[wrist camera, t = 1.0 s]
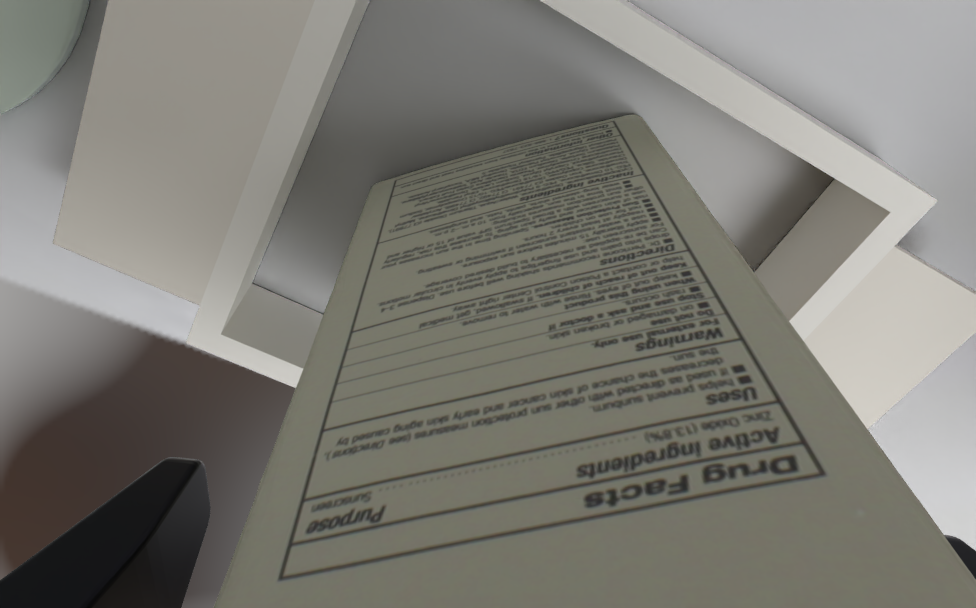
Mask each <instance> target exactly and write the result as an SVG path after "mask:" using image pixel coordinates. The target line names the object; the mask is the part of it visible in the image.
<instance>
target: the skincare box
mask: <svg viewBox="0 0 976 608" xmlns="http://www.w3.org/2000/svg"><path fill="white" fill-rule="evenodd" d="M214 608H976V579H975V578H974V576H973V575H972V574H971V572H970V571H969V570H968V568H967V567H966V565H965V564H964V563H963V561H962V560H961V558H960V557H959V556H958V554H957V553H956V552H955V550H954V549H953V547H952V546H951V545H950V543H949V542H948V540H947V539H946V538H945V536H944V535H943V533H942V532H941V531H940V529H939V528H938V526H937V525H936V524H935V522H934V521H933V520H932V518H931V517H930V515H929V514H928V513H927V511H926V510H925V508H924V507H923V506H922V504H921V503H920V501H919V500H918V499H917V497H916V496H915V495H914V493H913V492H912V490H911V489H910V488H909V486H908V485H907V484H906V482H905V481H904V480H903V478H902V477H901V476H900V474H899V473H898V471H897V470H896V469H895V467H894V466H893V465H892V463H891V462H890V460H889V459H888V458H887V456H886V455H885V453H884V452H883V451H882V449H881V448H880V446H879V445H878V444H877V442H876V441H875V439H874V438H873V437H872V435H871V434H870V432H869V431H868V430H867V428H866V427H865V425H864V424H863V423H862V421H861V420H860V418H859V417H858V416H857V414H856V413H855V412H854V410H853V409H852V407H851V406H850V405H849V403H848V402H847V400H846V399H845V398H844V396H843V395H842V394H841V392H840V391H839V389H838V388H837V387H836V385H835V384H834V383H833V381H832V380H831V378H830V377H829V376H828V374H827V373H826V371H825V370H824V369H823V367H822V366H821V365H820V363H819V362H818V360H817V359H816V358H815V356H814V355H813V353H812V352H811V351H810V349H809V348H808V347H807V345H806V344H805V342H804V341H803V340H802V338H801V337H800V336H799V334H798V333H797V332H796V330H795V329H794V327H793V326H792V325H791V323H790V322H789V321H788V319H787V318H786V317H785V315H784V314H783V312H782V311H781V310H780V308H779V307H778V306H777V304H776V303H775V302H774V300H773V299H772V298H771V296H770V295H769V293H768V292H767V290H766V289H765V287H764V286H763V284H762V283H761V282H760V280H759V279H758V277H757V276H756V275H755V273H754V272H753V270H752V269H751V268H750V266H749V265H748V263H747V262H746V261H745V259H744V258H743V256H742V255H741V254H740V252H739V251H738V249H737V248H736V246H735V245H734V244H733V242H732V241H731V240H730V238H729V237H728V236H727V234H726V233H725V231H724V230H723V229H722V227H721V226H720V225H719V223H718V222H717V221H716V219H715V218H714V217H713V215H712V214H711V213H710V211H709V210H708V208H707V207H706V206H705V204H704V203H703V201H702V200H701V199H700V197H699V196H698V194H697V193H696V192H695V190H694V189H693V187H692V186H691V185H690V183H689V182H688V181H687V179H686V178H685V176H684V175H683V174H682V172H681V171H680V169H679V168H678V167H677V165H676V164H675V162H674V161H673V160H672V158H671V157H670V156H669V154H668V153H667V151H666V150H665V149H664V147H663V146H662V145H661V143H660V142H659V140H658V139H657V137H656V136H655V135H654V133H653V132H652V131H651V129H650V128H649V126H648V125H647V124H646V122H645V121H644V120H643V118H642V117H640V116H638V115H634V114H633V115H625V116H621V117H617V118H613V119H609V120H604V121H600V122H595V123H591V124H587V125H583V126H579V127H575V128H570V129H566V130H562V131H559V132H554V133H550V134H546V135H543V136H539V137H535V138H531V139H527V140H523V141H519V142H516V143H512V144H509V145H505V146H501V147H498V148H494V149H490V150H487V151H483V152H479V153H476V154H472V155H468V156H465V157H461V158H458V159H455V160H451V161H448V162H444V163H441V164H437V165H434V166H430V167H427V168H424V169H420V170H417V171H414V172H411V173H407V174H404V175H401V176H398V177H395V178H391V179H388V180H384V181H381V182H378V183H376V184H374V185H373V186H372V187H371V189H370V191H369V194H368V197H367V200H366V202H365V205H364V207H363V210H362V213H361V216H360V218H359V220H358V223H357V226H356V229H355V232H354V234H353V237H352V240H351V242H350V245H349V248H348V250H347V253H346V256H345V259H344V261H343V264H342V267H341V269H340V272H339V274H338V277H337V280H336V283H335V286H334V289H333V291H332V294H331V296H330V299H329V301H328V304H327V306H326V309H325V312H324V314H323V317H322V320H321V323H320V325H319V328H318V331H317V334H316V336H315V339H314V342H313V345H312V347H311V350H310V353H309V355H308V358H307V361H306V364H305V366H304V369H303V371H302V374H301V376H300V379H299V381H298V384H297V387H296V389H295V392H294V395H293V397H292V400H291V403H290V406H289V408H288V410H287V413H286V416H285V419H284V421H283V424H282V427H281V430H280V432H279V436H278V438H277V440H276V443H275V446H274V449H273V451H272V454H271V456H270V459H269V461H268V464H267V467H266V469H265V472H264V474H263V476H262V479H261V481H260V484H259V488H258V491H257V494H256V497H255V500H254V503H253V505H252V508H251V511H250V513H249V516H248V519H247V521H246V524H245V526H244V529H243V532H242V534H241V537H240V539H239V542H238V544H237V547H236V550H235V552H234V555H233V558H232V561H231V563H230V566H229V570H228V572H227V574H226V577H225V580H224V582H223V585H222V587H221V590H220V593H219V595H218V598H217V600H216V603H215V606H214Z"/></svg>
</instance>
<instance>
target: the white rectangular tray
mask: <svg viewBox="0 0 976 608" xmlns="http://www.w3.org/2000/svg"><path fill="white" fill-rule="evenodd" d="M540 1H541V2H543V3H545V4H546V5H548V6H550V7H551V8H553V9H555V10H556V11H558V12H560V13H561V14H563V15H565V16H566V17H568V18H570V19H571V20H573V21H575V22H576V23H578V24H579V25H581V26H583V27H584V28H586V29H588V30H589V31H591V32H593V33H594V34H596V35H598V36H599V37H601V38H603V39H604V40H606V41H608V42H609V43H611V44H613V45H614V46H616V47H618V48H619V49H621V50H623V51H624V52H626V53H628V54H629V55H631V56H633V57H634V58H636V59H638V60H639V61H641V62H642V63H644V64H646V65H647V66H649V67H651V68H652V69H654V70H656V71H657V72H659V73H661V74H662V75H664V76H666V77H667V78H669V79H671V80H672V81H674V82H676V83H677V84H679V85H681V86H682V87H684V88H686V89H687V90H689V91H691V92H692V93H694V94H696V95H697V96H699V97H700V98H702V99H704V100H705V101H707V102H709V103H710V104H712V105H714V106H715V107H717V108H719V109H720V110H722V111H724V112H725V113H727V114H729V115H730V116H732V117H734V118H735V119H737V120H739V121H740V122H742V123H744V124H745V125H747V126H749V127H750V128H752V129H754V130H755V131H757V132H758V133H760V134H762V135H763V136H765V137H767V138H768V139H770V140H772V141H773V142H775V143H777V144H778V145H780V146H782V147H783V148H785V149H787V150H788V151H790V152H792V153H793V154H795V155H797V156H798V157H800V158H802V159H803V160H805V161H807V162H808V163H810V164H812V165H813V166H815V167H816V168H818V169H820V170H821V171H823V172H825V173H826V174H828V175H830V176H831V177H833V178H835V179H834V180H833V182H832V183H831V184H830V185H829V186H828V187H827V188H826V190H825V191H824V192H823V193H822V194H821V195H820V197H819V198H818V199H817V200H816V201H815V202H814V204H813V205H812V206H811V207H810V208H809V209H808V211H807V212H806V213H805V214H804V215H803V216H802V218H801V219H800V220H799V221H798V222H797V223H796V225H795V226H794V227H793V228H792V229H791V230H790V232H789V233H788V234H787V235H786V236H785V237H784V238H783V240H782V241H781V242H780V243H779V244H778V245H777V247H776V248H775V249H774V250H773V251H772V252H771V254H770V255H769V256H768V257H767V258H766V259H765V261H764V262H763V263H762V264H761V265H760V266H759V268H758V269H757V270H756V271H755V272H754V273H755V275H756V276H757V277H758V279H759V280H760V282H761V283H762V284H763V286H764V287H765V289H766V290H767V292H768V293H769V295H770V296H771V298H772V299H773V300H774V302H775V303H776V304H777V306H778V307H779V308H780V310H781V311H782V312H783V314H784V315H785V317H786V318H787V319H788V321H789V322H790V323H791V325H792V326H793V327H794V329H795V330H796V332H797V333H798V334H799V336H800V337H801V338H802V340H803V341H804V342H805V344H806V345H807V347H808V348H809V349H810V351H811V352H812V353H813V355H814V356H815V358H816V359H817V360H818V362H819V363H820V365H821V366H822V367H823V369H824V370H825V371H826V373H827V374H828V376H829V377H830V378H831V380H832V381H833V383H834V384H835V385H836V387H837V388H838V389H839V391H840V392H841V394H842V395H843V396H844V398H845V399H846V400H847V402H848V403H849V405H850V406H851V407H852V409H853V410H854V412H855V413H856V414H857V416H858V417H859V418H860V420H861V421H862V423H863V424H864V425H865V427H866V428H867V429H869V428H870V427H871V426H872V425H873V424H874V423H875V422H876V421H877V420H879V419H880V418H881V417H882V416H883V415H884V414H885V413H886V412H888V411H889V410H890V409H891V408H892V407H893V406H894V405H895V404H896V403H898V402H899V401H900V400H901V399H902V398H903V397H904V396H905V395H907V394H908V393H909V392H910V391H911V390H912V389H913V388H914V387H915V386H917V385H918V384H919V383H920V382H921V381H922V380H923V379H924V378H926V377H927V376H928V375H929V374H930V373H931V372H932V371H933V370H934V369H936V368H937V367H938V366H939V365H940V364H941V363H942V362H943V361H945V360H946V359H947V358H948V357H949V356H950V355H951V354H952V353H953V352H955V351H956V350H957V349H958V348H959V347H960V346H961V345H962V344H964V343H965V342H966V341H967V340H968V339H969V338H970V337H971V336H972V335H974V334H975V333H976V291H974V290H972V289H971V288H969V287H967V286H966V285H964V284H962V283H961V282H959V281H957V280H956V279H954V278H952V277H950V276H949V275H947V274H945V273H944V272H942V271H940V270H939V269H937V268H935V267H933V266H932V265H930V264H928V263H927V262H925V261H923V260H922V259H920V258H918V257H917V256H915V255H913V254H911V253H910V252H908V251H906V250H905V249H903V248H901V247H900V246H898V245H896V244H897V243H898V242H899V241H900V240H901V239H902V238H903V237H904V236H905V235H906V234H907V233H908V232H909V231H910V230H911V229H912V228H913V226H914V225H915V224H916V223H917V222H918V221H919V220H920V219H921V218H922V217H923V216H924V215H925V214H926V213H927V212H928V211H929V210H930V209H931V208H932V207H933V206H934V205H935V204H936V203H937V202H938V200H936V199H935V198H934V197H932V196H931V195H930V194H928V193H927V192H925V191H924V190H923V189H921V188H920V187H919V186H917V185H916V184H914V183H913V182H912V181H910V180H909V179H907V178H906V177H905V176H903V175H902V174H901V173H899V172H898V171H896V170H895V169H894V168H892V167H891V166H890V165H888V164H887V163H885V162H884V161H883V160H881V159H879V158H878V157H876V156H875V155H873V154H871V153H870V152H868V151H867V150H865V149H863V148H862V147H860V146H859V145H857V144H855V143H854V142H852V141H851V140H849V139H848V138H846V137H844V136H843V135H841V134H840V133H838V132H836V131H835V130H833V129H832V128H830V127H828V126H827V125H825V124H824V123H822V122H820V121H819V120H817V119H816V118H814V117H812V116H811V115H809V114H808V113H806V112H804V111H803V110H801V109H800V108H798V107H796V106H795V105H793V104H792V103H790V102H788V101H787V100H785V99H784V98H782V97H780V96H779V95H777V94H776V93H774V92H772V91H771V90H769V89H768V88H766V87H764V86H763V85H761V84H760V83H758V82H756V81H755V80H753V79H752V78H750V77H748V76H747V75H745V74H744V73H742V72H740V71H739V70H737V69H736V68H734V67H732V66H731V65H729V64H728V63H726V62H724V61H723V60H721V59H720V58H718V57H716V56H715V55H713V54H712V53H710V52H708V51H707V50H705V49H704V48H702V47H700V46H699V45H697V44H696V43H694V42H692V41H691V40H689V39H688V38H686V37H684V36H683V35H681V34H680V33H678V32H676V31H675V30H673V29H672V28H670V27H668V26H667V25H665V24H664V23H662V22H660V21H659V20H657V19H656V18H654V17H652V16H651V15H649V14H648V13H646V12H644V11H643V10H641V9H640V8H638V7H636V6H635V5H633V4H632V3H630V2H628V1H627V0H540ZM369 2H370V0H108V3H107V8H106V12H105V16H104V21H103V25H102V29H101V34H100V38H99V43H98V47H97V51H96V56H95V60H94V65H93V69H92V73H91V78H90V82H89V86H88V91H87V95H86V100H85V104H84V108H83V113H82V117H81V121H80V126H79V130H78V135H77V139H76V143H75V148H74V152H73V156H72V161H71V165H70V170H69V174H68V178H67V183H66V187H65V191H64V196H63V200H62V205H61V209H60V213H59V218H58V222H57V227H56V231H55V235H54V240H53V244H55V245H57V246H60V247H62V248H64V249H67V250H69V251H71V252H74V253H76V254H79V255H81V256H83V257H86V258H88V259H90V260H93V261H95V262H98V263H100V264H102V265H105V266H107V267H109V268H112V269H114V270H116V271H119V272H121V273H124V274H126V275H128V276H131V277H133V278H135V279H138V280H140V281H143V282H145V283H147V284H150V285H152V286H154V287H157V288H159V289H162V290H164V291H166V292H169V293H171V294H173V295H176V296H178V297H181V298H183V299H185V300H188V301H190V302H192V303H195V304H197V305H199V309H198V312H197V314H196V317H195V320H194V322H193V325H192V328H191V330H190V333H189V336H188V338H187V341H186V344H189V345H191V346H194V347H196V348H199V349H201V350H204V351H206V352H208V353H211V354H213V355H216V356H218V357H221V358H223V359H226V360H228V361H231V362H233V363H236V364H238V365H240V366H243V367H246V368H248V369H250V370H253V371H255V372H258V373H260V374H263V375H265V376H268V377H270V378H273V379H275V380H277V381H280V382H282V383H285V384H287V385H290V386H292V387H295V388H296V387H297V384H298V381H299V379H300V376H301V374H302V371H303V369H304V366H305V364H306V361H307V358H308V355H309V353H310V350H311V347H312V345H313V342H314V339H315V336H316V334H317V331H318V328H319V325H320V323H321V320H322V317H323V314H321V313H318V312H316V311H314V310H312V309H309V308H307V307H305V306H302V305H300V304H298V303H296V302H293V301H291V300H289V299H286V298H284V297H282V296H280V295H277V294H275V293H273V292H270V291H268V290H266V289H264V288H261V287H259V286H257V285H254V284H252V283H253V280H254V278H255V275H256V273H257V271H258V268H259V266H260V263H261V261H262V259H263V256H264V254H265V251H266V249H267V247H268V244H269V242H270V239H271V237H272V235H273V232H274V230H275V227H276V225H277V223H278V220H279V218H280V215H281V213H282V211H283V208H284V206H285V203H286V201H287V199H288V196H289V194H290V191H291V189H292V187H293V184H294V182H295V179H296V177H297V175H298V172H299V170H300V167H301V165H302V163H303V160H304V158H305V155H306V153H307V150H308V148H309V146H310V143H311V141H312V138H313V136H314V134H315V131H316V129H317V126H318V124H319V122H320V119H321V117H322V114H323V112H324V110H325V107H326V105H327V102H328V100H329V98H330V95H331V93H332V90H333V88H334V86H335V83H336V81H337V78H338V76H339V74H340V71H341V69H342V66H343V64H344V62H345V59H346V57H347V54H348V52H349V50H350V47H351V45H352V42H353V40H354V38H355V35H356V33H357V30H358V28H359V26H360V23H361V21H362V18H363V16H364V14H365V11H366V9H367V6H368V4H369Z"/></svg>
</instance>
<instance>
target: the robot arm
mask: <svg viewBox="0 0 976 608" xmlns="http://www.w3.org/2000/svg"><path fill="white" fill-rule="evenodd" d="M209 518H210V499H209V492H208V485H207V477H206V470H205V466H204V464H203V462H201V461H200V460H198V459H188V458H178V457H169V458H167V459H164V460H162V461H161V462H160V463H158V464H157V465H155V466H154V467H153V468H152V469H150V470H149V471H147V472H146V473H145V474H143V475H142V476H141V477H139V478H138V479H137V480H135V481H134V482H132V483H131V484H130V485H128V486H127V487H126V488H124V489H123V490H122V491H121V492H119V493H118V494H117V495H115V496H114V497H112V498H111V499H109V500H108V501H107V502H106V503H104V504H103V505H101V506H100V507H99V508H97V509H96V510H95V511H93V512H92V513H91V514H89V515H88V516H86V517H85V518H84V519H82V520H81V521H80V522H78V523H77V524H76V525H74V526H73V527H72V528H70V529H69V530H68V531H66V532H65V533H64V534H62V535H61V536H59V537H58V538H57V539H55V540H54V541H53V542H51V543H50V544H49V545H47V546H46V547H45V548H43V549H42V550H40V551H39V552H38V553H36V554H35V555H34V556H32V557H31V558H30V559H28V560H27V561H26V562H24V563H23V564H22V565H20V566H19V567H18V568H16V569H15V570H14V571H12V572H11V573H10V574H8V575H7V576H5V577H4V578H3V579H1V580H0V608H181V607H182V604H183V601H184V598H185V595H186V592H187V589H188V585H189V582H190V579H191V576H192V573H193V570H194V567H195V564H196V560H197V558H198V554H199V551H200V548H201V545H202V542H203V539H204V536H205V533H206V529H207V526H208V522H209ZM944 536H945V538H946V539H947V540H948V542H949V543H950V545H951V546H952V547H953V549H954V550H955V552H956V553H957V554H958V556H959V557H960V558H961V560H962V561H963V563H964V564H965V565H966V567H967V568H968V570H969V571H970V572H971V574H972V575H973V576H974V578H975V579H976V551H975V550H974V549H972V548H971V547H970V546H968V545H967V544H966V543H964V542H963V541H962V540H960V539H958V538H956V537H953V536H949V535H944Z"/></svg>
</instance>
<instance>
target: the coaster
mask: <svg viewBox="0 0 976 608" xmlns="http://www.w3.org/2000/svg"><path fill="white" fill-rule="evenodd" d="M88 7H89V0H0V114H2V113H4V112H7V111H9V110H11V109H13V108H15V107H17V106H19V105H20V104H22V103H23V102H25V101H27V100H28V99H30V98H31V97H33V96H34V95H36V94H37V93H38V92H39V91H40V90H41V89H42V88H44V87H45V86H46V85H47V84H48V83H49V82H50V81H51V80H52V79H53V78H54V77H55V76H56V74H57V73H58V72H59V70H60V69H61V67H62V66H63V65H64V63H65V62H66V61H67V59H68V58H69V56H70V54H71V52H72V50H73V48H74V46H75V44H76V42H77V40H78V38H79V36H80V33H81V30H82V27H83V23H84V20H85V17H86V13H87V10H88Z"/></svg>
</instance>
